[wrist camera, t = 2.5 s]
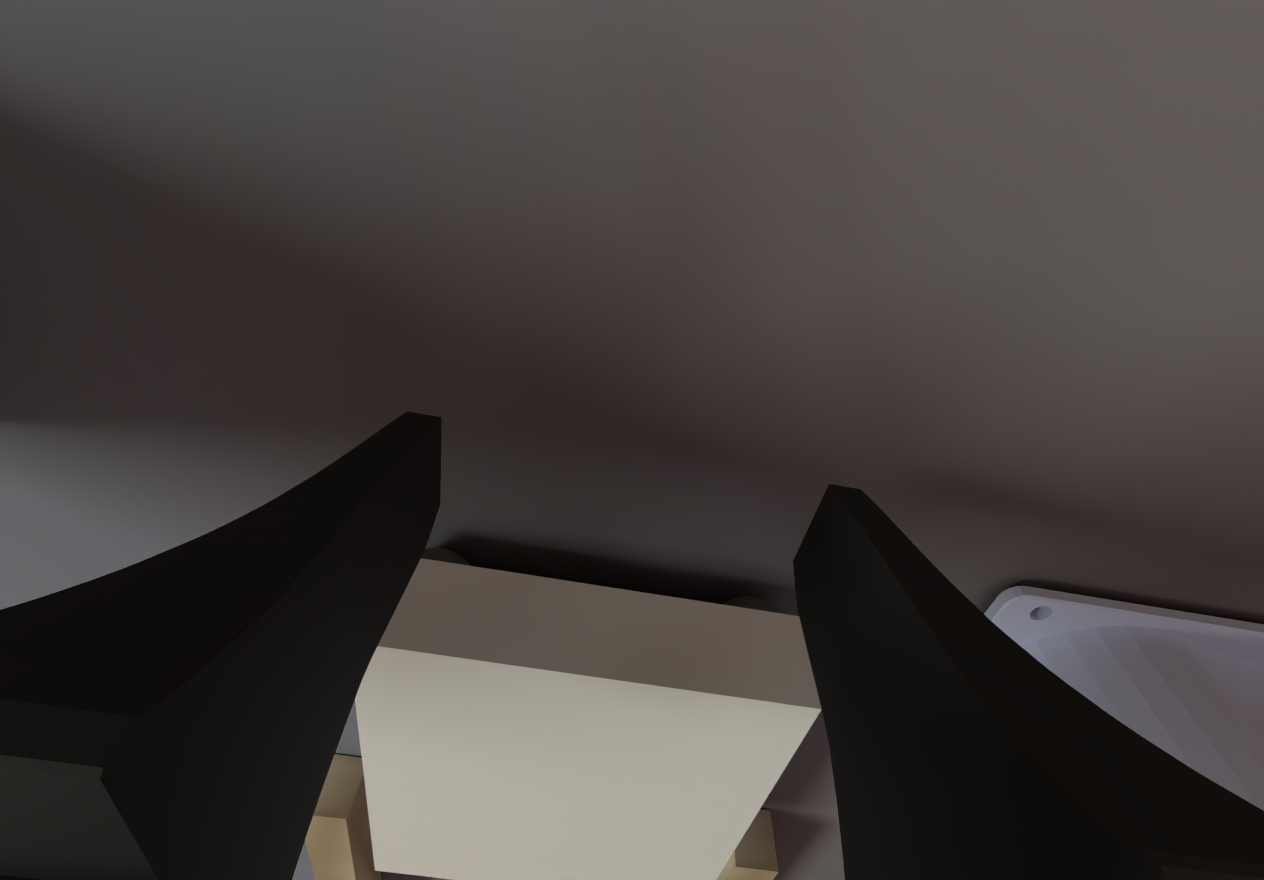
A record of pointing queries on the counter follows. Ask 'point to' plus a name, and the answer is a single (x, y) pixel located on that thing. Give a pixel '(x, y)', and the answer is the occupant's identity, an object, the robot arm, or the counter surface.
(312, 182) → the counter surface
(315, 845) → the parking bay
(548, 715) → the cream tile slab
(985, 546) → the counter surface
